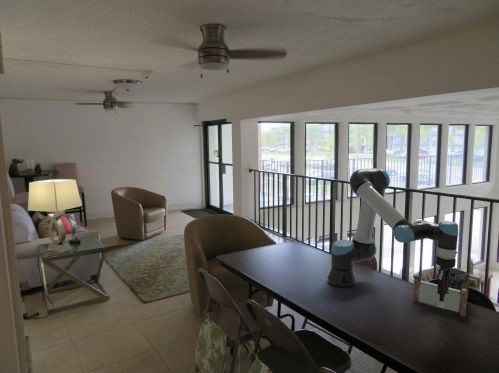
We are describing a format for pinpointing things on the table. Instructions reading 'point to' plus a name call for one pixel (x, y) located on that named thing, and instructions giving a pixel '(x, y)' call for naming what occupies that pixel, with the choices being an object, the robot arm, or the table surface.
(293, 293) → the table surface
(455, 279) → the camera
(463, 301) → the post
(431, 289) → the gate
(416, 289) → the hinge post
